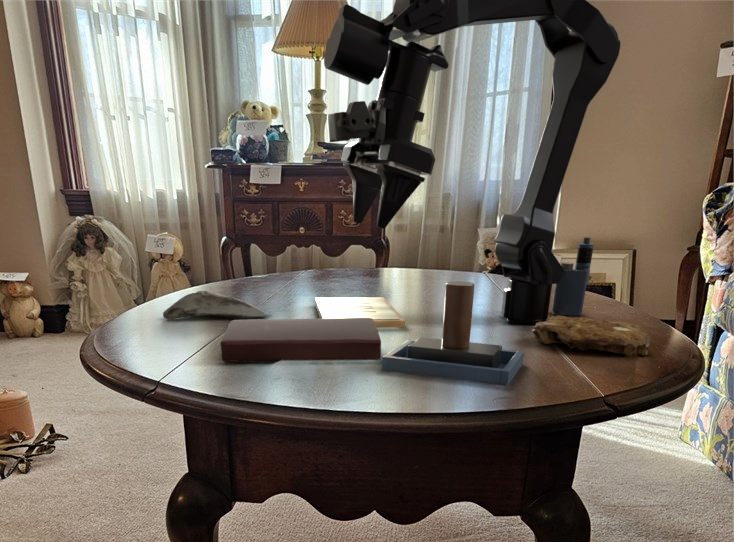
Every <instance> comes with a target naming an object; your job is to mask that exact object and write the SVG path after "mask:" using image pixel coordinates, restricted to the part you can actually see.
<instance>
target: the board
mask: <svg viewBox="0 0 734 542" xmlns="http://www.w3.org/2000/svg"><path fill="white" fill-rule="evenodd" d="M314 298H315V299H314V304H315V305H314V306H315V309H316V311H317V314H318V317H319V318H372V319H373V320H374V322H375V325H376V328H377V329H379V328H406V320H405V318H403V316H402V315H401V314H399V312H398V311H397V310H396V309H395V308H394V307H393V306H392V305H391V304H390V303H389V301H388V300H387V299H386V298H385V297H383V296H381V297H380V296H378V297H377V296H375V297H371V296H369V297H367V296H366V297H314Z"/></svg>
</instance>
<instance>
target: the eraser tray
mask: <svg viewBox="0 0 734 542" xmlns="http://www.w3.org/2000/svg"><path fill="white" fill-rule="evenodd" d="M417 340H418V339H407V340H406V341H405V342H403V343H401V344H400V345H399V346H397V347H396V348H394V349H392V350H391V351H389V352H388V353H386V354H384V355H383V356H381V359H382V360H381V361H382V362H381V371H387V372H395V373H403V374H411V375H412V374H413V375H418V376H428V377H435V378H442V379H443V378H445V379H452V380H461V381H468V382H474V383H475V382H476V383H484V384H492V385H499V386H500V385H501V386H508V385H509V384H510V383H511V381H512V380H513V379H514V377H515V376H516V374H517V373H518V371H520V369H521V368H522V366H523V364H524V358H525V351H521V350H513V349H512V350H511V349H504V348H502V352H501V361H500V366H499V368H490V367H482V366H473V365H464V364H455V363H447V362H438V361H429V360H421V359H412V358H408V346H409V345H411V344H412V343H414V342H415V341H417Z"/></svg>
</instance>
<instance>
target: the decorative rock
mask: <svg viewBox="0 0 734 542" xmlns="http://www.w3.org/2000/svg"><path fill="white" fill-rule="evenodd" d="M531 332H532V334H533V335H534V336H533V337H534V338H535V339H536V340H538V341H539V342H540V343H541V344H544V345H549V344H554V343H555V344H565V345H567V346H568V347H569V348H570V349H574V348H577V349H579V350H581V351H587V350H588V349H589V350H598V351H601V352H610V353H615V354H622V355H624V356H626V357H631V356H633V355H636V354H637V355H640V356H648V349H649V347H650V345H651V339H650V337H649V335H648V332H647V331H646V330H644V329H643V327H642V326H641V325H636V324H635V325H633V324H632V323H629V322H624V321H609V320H605V319H601V320H600V319H593V318H589V317H586V316H585V317H578V316H577V317H576V316H571V317H568V316H559V315H553V316H551V315H550V316H548V319H547V320H546V322H538V323H536V324H535V325H534V328H533V329H532V330H531Z"/></svg>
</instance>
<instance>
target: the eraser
mask: <svg viewBox="0 0 734 542" xmlns="http://www.w3.org/2000/svg"><path fill="white" fill-rule="evenodd" d="M475 284H476V283H474V282H472V281H463V280H453V281H447V282H446V283H445V291H444V303H443V304H444V305H443V317H442V319H443V321H442V334H441V338H435V337H434V338H433V337H423V336H421V337H419V338H418V339H416V340H417V341H415V342H414V343H412V344H411V345H409V346H408V358H412V359H421V360H429V361H438V362H447V363H455V364H464V365H473V366H482V367H490V368H499V366H500V361H501V352H502V349H503V345H500V344H491V343H490V344H489V343H483V342H482V343H481V342H473V341H472V342H471V330H472V318H473V307H474V298H475V297H474V296H475Z"/></svg>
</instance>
